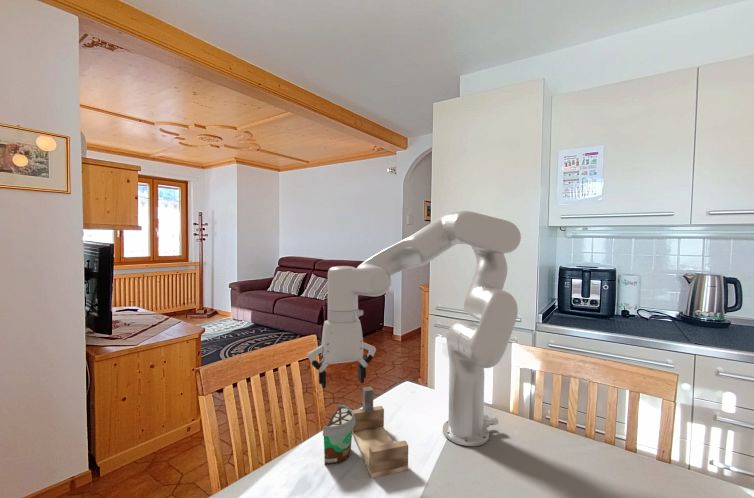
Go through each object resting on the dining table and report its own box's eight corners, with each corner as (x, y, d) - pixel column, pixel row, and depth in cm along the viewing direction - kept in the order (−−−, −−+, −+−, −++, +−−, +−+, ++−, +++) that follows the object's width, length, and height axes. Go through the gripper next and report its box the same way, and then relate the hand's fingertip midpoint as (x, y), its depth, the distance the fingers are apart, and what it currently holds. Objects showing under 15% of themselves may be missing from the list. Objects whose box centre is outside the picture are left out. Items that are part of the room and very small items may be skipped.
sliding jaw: (381, 422, 101) (381, 385, 101) (384, 426, 99) (384, 388, 98) (351, 427, 98) (351, 388, 98) (353, 431, 96) (353, 392, 96)
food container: (347, 472, 81) (347, 430, 81) (322, 468, 82) (322, 427, 82) (360, 442, 93) (360, 405, 93) (338, 439, 95) (338, 403, 94)
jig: (379, 424, 102) (380, 404, 102) (408, 470, 82) (408, 445, 82) (350, 429, 99) (350, 408, 99) (371, 477, 79) (372, 452, 79)
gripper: (371, 310, 93) (371, 374, 93) (305, 314, 88) (305, 381, 88) (380, 317, 86) (379, 385, 86) (309, 321, 80) (309, 394, 81)
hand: (342, 383), depth 87 cm, fingers open, 9 cm apart
